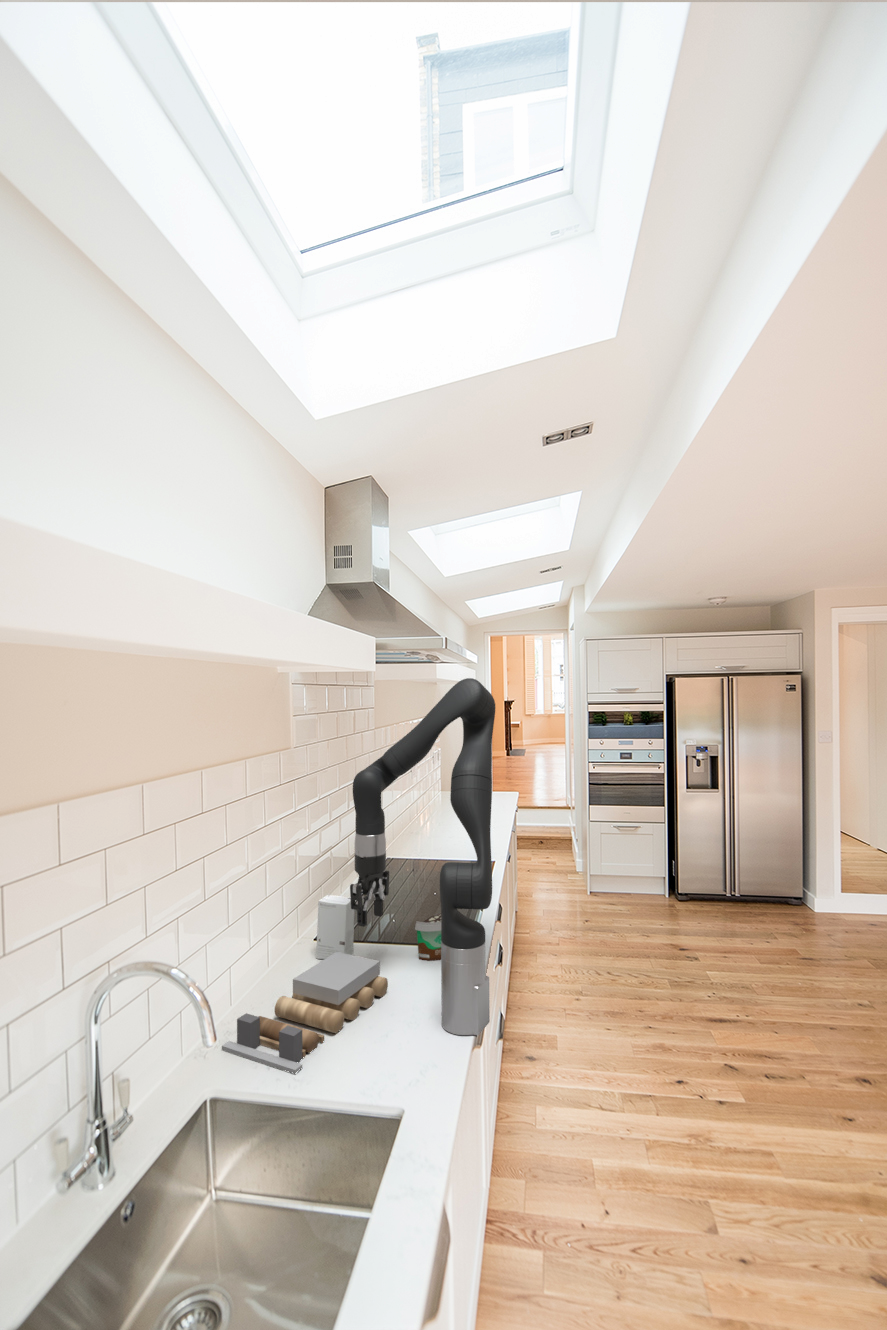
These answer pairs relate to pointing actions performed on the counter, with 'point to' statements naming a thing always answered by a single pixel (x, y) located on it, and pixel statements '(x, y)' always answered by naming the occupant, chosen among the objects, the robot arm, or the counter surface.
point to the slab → (336, 977)
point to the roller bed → (325, 1010)
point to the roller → (273, 1027)
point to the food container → (429, 938)
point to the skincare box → (334, 926)
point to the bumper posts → (251, 1040)
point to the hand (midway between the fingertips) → (370, 920)
